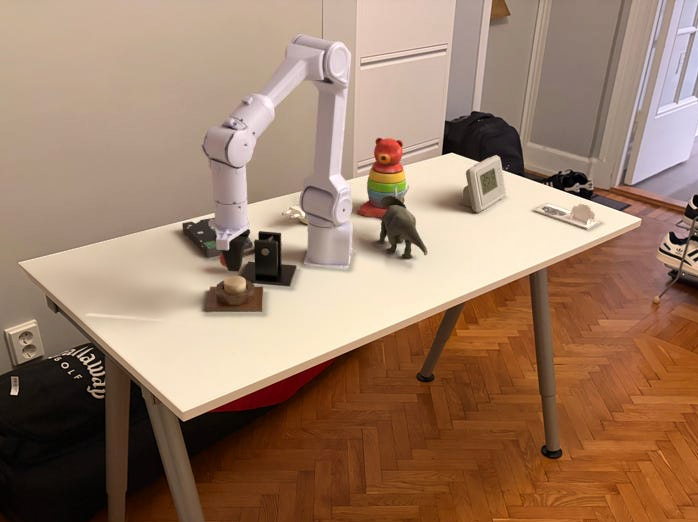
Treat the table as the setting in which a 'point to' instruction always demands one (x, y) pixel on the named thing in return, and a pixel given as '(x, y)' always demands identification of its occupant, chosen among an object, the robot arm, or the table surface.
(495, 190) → the digital clock
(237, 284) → the button
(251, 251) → the lever
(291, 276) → the switch bracket
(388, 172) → the stacking bear
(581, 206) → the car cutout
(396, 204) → the toy dinosaur
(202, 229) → the disk drive
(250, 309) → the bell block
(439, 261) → the table surface
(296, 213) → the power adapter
